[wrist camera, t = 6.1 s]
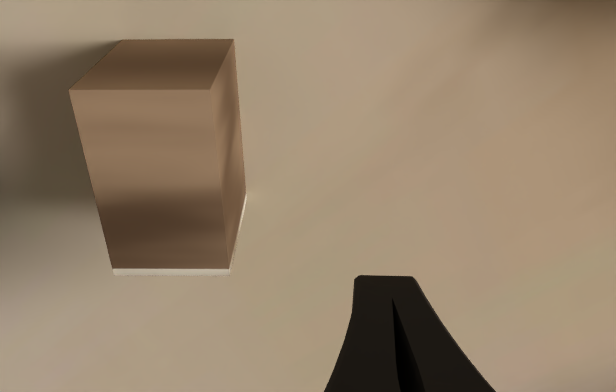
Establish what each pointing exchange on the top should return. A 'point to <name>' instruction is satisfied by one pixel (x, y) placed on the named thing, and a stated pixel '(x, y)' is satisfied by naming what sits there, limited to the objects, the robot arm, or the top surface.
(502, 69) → the top surface
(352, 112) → the top surface
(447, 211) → the top surface
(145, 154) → the walnut block
